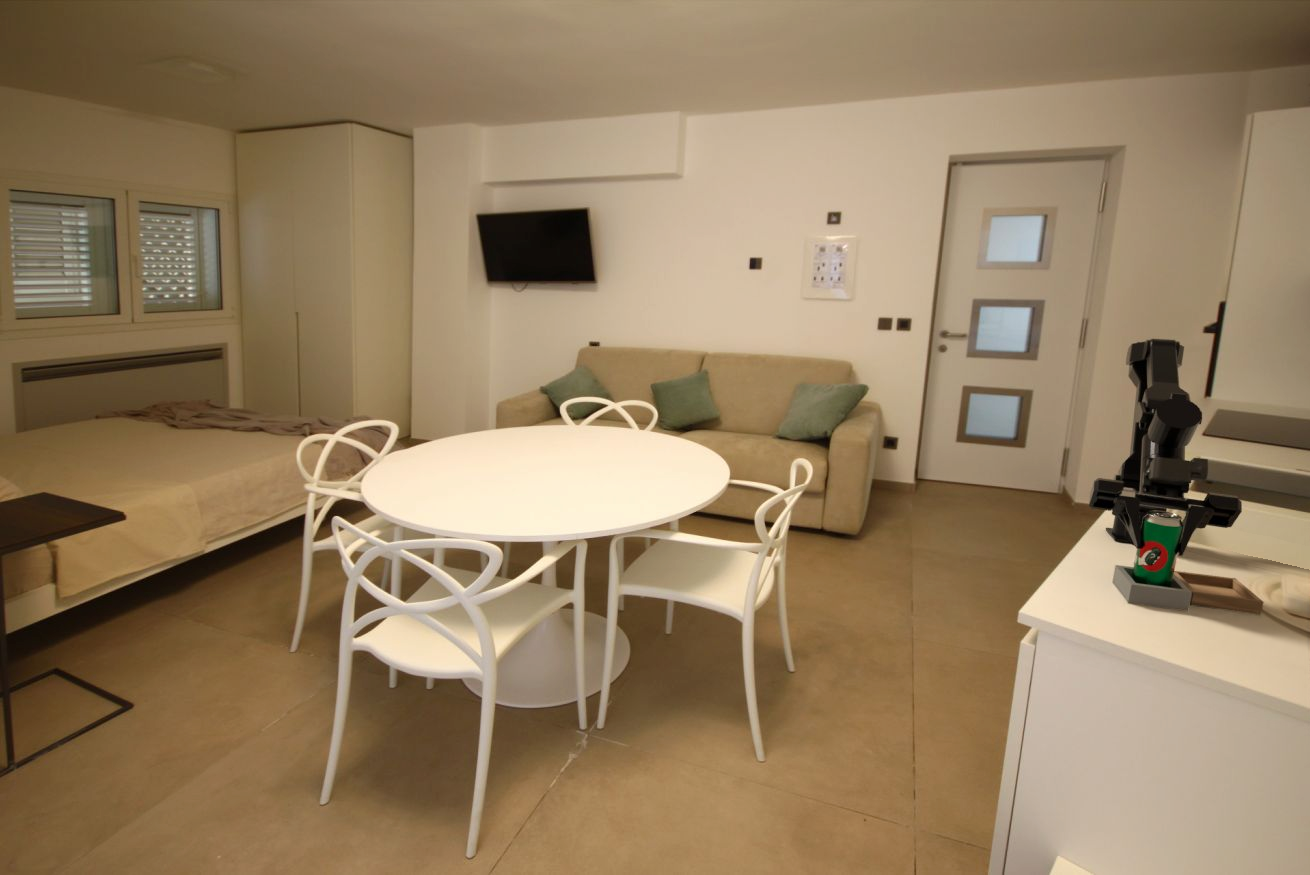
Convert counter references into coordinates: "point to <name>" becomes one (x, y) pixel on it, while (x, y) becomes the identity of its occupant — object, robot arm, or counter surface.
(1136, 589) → the box
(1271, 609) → the counter surface
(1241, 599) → the walnut tray
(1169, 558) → the soda can
